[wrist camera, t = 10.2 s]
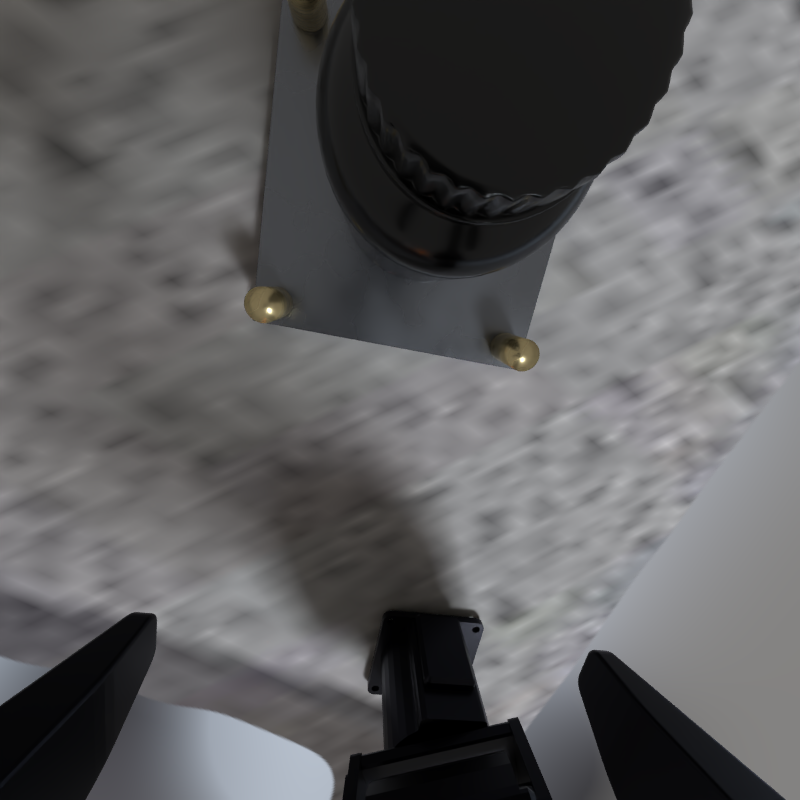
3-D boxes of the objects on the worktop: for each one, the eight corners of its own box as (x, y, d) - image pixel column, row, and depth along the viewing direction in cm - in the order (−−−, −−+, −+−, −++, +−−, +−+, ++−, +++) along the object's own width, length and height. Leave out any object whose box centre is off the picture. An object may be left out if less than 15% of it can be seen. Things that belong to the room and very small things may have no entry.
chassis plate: (511, 366, 20) (538, 381, 17) (257, 318, 18) (234, 325, 15) (592, 78, 16) (646, 27, 13) (289, -16, 15) (268, -99, 12)
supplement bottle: (403, 69, 15) (512, -633, 4) (528, 184, 17) (882, -53, 5) (310, 220, 16) (173, 55, 5) (434, 313, 18) (552, 356, 6)
